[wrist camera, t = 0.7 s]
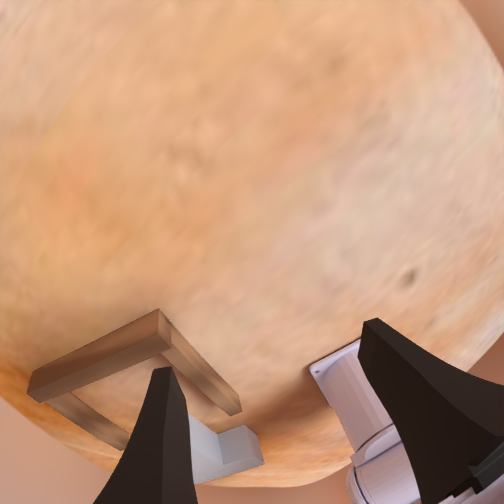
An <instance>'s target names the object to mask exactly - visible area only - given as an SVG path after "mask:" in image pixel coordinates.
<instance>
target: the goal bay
mask: <svg viewBox="0 0 504 504" xmlns="http://www.w3.org/2000/svg"><path fill="white" fill-rule="evenodd" d="M160 353H161V354H162V355H163V356H164V357H165V358H166V359H167V360H168V361H169V362H170V363H171V364H172V365H173V366H174V367H175V368H176V369H177V370H179V371H180V372H181V373H182V374H183V375H184V376H185V377H186V378H187V379H188V380H189V381H190V382H191V383H193V384H194V385H195V386H196V387H197V388H198V389H199V390H200V391H201V392H203V393H204V394H205V395H206V396H207V397H208V398H209V399H211V400H212V401H213V402H214V403H215V404H216V405H218V406H219V407H220V408H221V409H222V410H223V411H225V412H226V413H227V414H228V415H229V416H233V415H235V414H238V413H240V412H242V408H241V404H240V400H239V396H238V394H237V393H236V392H235V391H234V390H233V389H232V388H231V387H230V386H229V385H228V384H227V383H226V382H225V381H224V380H223V379H222V378H221V377H220V376H219V375H218V373H217V372H216V371H215V370H214V369H213V368H212V367H211V366H210V365H209V364H208V363H207V362H206V361H205V360H204V359H203V358H202V357H201V356H200V354H199V353H198V352H197V351H196V350H195V349H194V348H193V347H192V346H191V345H190V344H189V343H188V341H187V340H186V339H185V338H184V337H183V336H182V335H181V334H180V332H179V331H178V330H177V329H176V328H175V327H174V326H173V325H172V323H171V322H170V321H169V320H168V319H167V318H166V316H165V315H164V314H163V313H162V312H161V311H160V309H157V310H155V311H153V312H151V313H149V314H147V315H145V316H143V317H141V318H139V319H137V320H135V321H133V322H131V323H129V324H128V325H126V326H124V327H122V328H120V329H118V330H116V331H114V332H112V333H110V334H108V335H106V336H104V337H102V338H100V339H98V340H96V341H94V342H92V343H90V344H88V345H86V346H84V347H82V348H80V349H78V350H76V351H74V352H72V353H70V354H68V355H66V356H64V357H62V358H60V359H58V360H56V361H54V362H52V363H50V364H48V365H46V366H44V367H42V368H40V369H38V370H36V371H34V372H33V374H32V377H31V380H30V384H29V387H28V391H27V394H28V395H29V396H31V397H32V398H33V399H35V400H36V401H37V402H39V403H41V402H45V403H47V404H48V405H50V406H51V407H52V408H54V409H55V410H56V411H58V412H59V413H61V414H62V415H63V416H65V417H66V418H68V419H69V420H71V421H72V422H74V423H75V424H77V425H78V426H80V427H81V428H83V429H84V430H86V431H88V432H89V433H91V434H92V435H94V436H96V437H97V438H99V439H101V440H102V441H104V442H106V443H107V444H109V445H111V446H113V447H114V448H116V449H118V450H120V451H121V450H125V448H126V446H127V444H128V435H129V433H128V432H126V431H124V430H123V429H121V428H120V427H118V426H117V425H115V424H113V423H112V422H110V421H109V420H107V419H106V418H104V417H103V416H102V415H100V414H99V413H97V412H96V411H94V410H93V409H92V408H90V407H89V406H87V405H86V404H85V403H83V402H82V401H81V400H79V399H78V398H77V397H75V396H74V395H73V394H71V393H70V391H72V390H75V389H77V388H80V387H82V386H85V385H87V384H90V383H92V382H95V381H97V380H99V379H102V378H104V377H107V376H109V375H111V374H114V373H116V372H118V371H121V370H123V369H126V368H128V367H130V366H132V365H135V364H137V363H139V362H142V361H144V360H146V359H148V358H151V357H153V356H155V355H157V354H160Z"/></svg>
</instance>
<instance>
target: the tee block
mask: <svg viewBox="0 0 504 504" xmlns="http://www.w3.org/2000/svg"><path fill="white" fill-rule="evenodd" d="M188 417H189V424H190V442H191V458H192V472H193V481H194V485H195V484H200V483H204V482H207V481H211V480H215V479H219V478H222V477H226V476H229V475H232V474H236V473H239V472H242V471H245V470H248V469H251V468H254V467H257V466H260V465H263V464H265V462H264V458H263V455H262V451H261V448H260V444H259V441H258V437H257V435H256V434H255V433H254V432H252V431H251V430H250V429H249V428H247V427H246V426H245V425H241V426H239V427H236V428H233V429H230V430H228V431H225V432H222V433H219V434H216V433H215V432H213V431H212V430H211V429H209V428H208V427H206V426H205V425H204V424H202V423H201V422H199V421H198V420H197V419H195V418H194V417H193V416H191V415H190V414H189V413H188Z"/></svg>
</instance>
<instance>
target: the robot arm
mask: <svg viewBox="0 0 504 504" xmlns="http://www.w3.org/2000/svg"><path fill="white" fill-rule="evenodd" d="M309 370H310V372H311V374H312V376H313V377H314V379H315V381H316V382H317V384H318V386H319V388H320V389H321V391H322V393H323V394H324V396H325V398H326V400H327V401H328V403H329V405H330V406H331V408H334V409H335V412H336V414H337V416H338V418H339V420H340V422H341V424H342V426H343V429H344V431H345V433H346V435H347V437H348V439H349V441H350V443H351V446H352V448H353V450H354V452H355V454H353V455H351V456H350V458H351V460H352V462H353V464H354V465H352V466H350V467H349V469H348V474H347V477H346V484H347V489H348V492H349V495H350V497H351V500H352V502H353V504H504V386H503V385H500V384H496V383H493V382H490V381H487V380H484V379H481V378H479V377H476V376H473V375H471V374H469V373H466V372H464V371H462V370H460V369H458V368H456V367H454V366H452V365H450V364H448V363H446V362H444V361H442V360H441V359H439V358H437V357H436V356H434V355H432V354H431V353H429V352H427V351H426V350H424V349H423V348H421V347H419V346H418V345H416V344H415V343H413V342H412V341H410V340H409V339H408V338H406V337H405V336H403V335H402V334H400V333H399V332H397V331H396V330H395V329H393V328H392V327H390V326H389V325H387V324H386V323H385V322H383V321H382V320H380V319H379V318H374V319H371V320H368V321H365V322H364V323H363V329H362V334H361V339H359V340H357V341H355V342H354V343H352V344H350V345H348V346H346V347H344V348H343V349H341V350H339V351H337V352H335V353H333V354H331V355H329V356H328V357H326V358H324V359H322V360H320V361H318V362H316V363H314V364H312V365H311V366H310V367H309ZM93 504H198V502H197V497H196V492H195V487H194V481H193V472H192V458H191V442H190V424H189V417H188V411H187V405H186V399H185V396H184V394H183V392H182V390H181V388H180V385H179V383H178V381H177V379H176V376H175V374H174V372H173V369H172V367H171V366H170V367H163V368H157V369H154V370H153V372H152V376H151V380H150V383H149V387H148V390H147V393H146V397H145V400H144V403H143V406H142V408H141V411H140V414H139V417H138V420H137V422H136V425H135V427H134V430H133V432H132V434H131V437H130V439H129V442H128V444H127V446H126V448H125V450H124V453H123V455H122V457H121V459H120V461H119V463H118V464H117V466H116V468H115V470H114V472H113V473H112V475H111V477H110V479H109V481H108V482H107V484H106V485H105V487H104V488H103V490H102V491H101V493H100V494H99V496H98V497H97V499H96V500H95V501H94V503H93Z"/></svg>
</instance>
